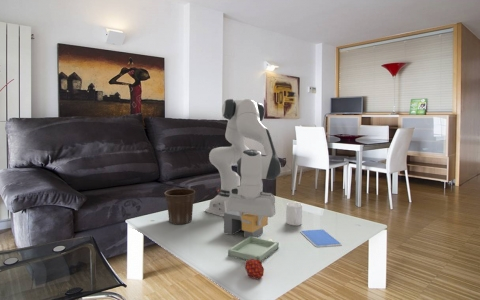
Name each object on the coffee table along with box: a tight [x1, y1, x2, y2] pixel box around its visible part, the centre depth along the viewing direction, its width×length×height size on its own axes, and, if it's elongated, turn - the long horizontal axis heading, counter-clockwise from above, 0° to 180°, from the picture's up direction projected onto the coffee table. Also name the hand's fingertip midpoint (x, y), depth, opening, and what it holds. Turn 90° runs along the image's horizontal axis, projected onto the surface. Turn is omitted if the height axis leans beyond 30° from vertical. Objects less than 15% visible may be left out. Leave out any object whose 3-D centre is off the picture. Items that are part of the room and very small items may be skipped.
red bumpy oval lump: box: [244, 259, 265, 279], centre depth 114 cm, size 6×7×8 cm
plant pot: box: [164, 188, 196, 225], centre depth 173 cm, size 16×16×16 cm
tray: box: [227, 236, 280, 263], centre depth 134 cm, size 14×18×2 cm
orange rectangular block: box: [241, 213, 269, 232], centre depth 133 cm, size 5×13×6 cm, turn 145°
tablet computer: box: [300, 229, 343, 248], centre depth 150 cm, size 19×13×1 cm, turn 11°
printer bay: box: [223, 210, 264, 239], centre depth 156 cm, size 16×10×10 cm, turn 59°
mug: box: [285, 201, 303, 227], centre depth 169 cm, size 12×8×10 cm
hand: (251, 224), depth 130 cm, fingers closed on orange rectangular block, 5 cm apart
